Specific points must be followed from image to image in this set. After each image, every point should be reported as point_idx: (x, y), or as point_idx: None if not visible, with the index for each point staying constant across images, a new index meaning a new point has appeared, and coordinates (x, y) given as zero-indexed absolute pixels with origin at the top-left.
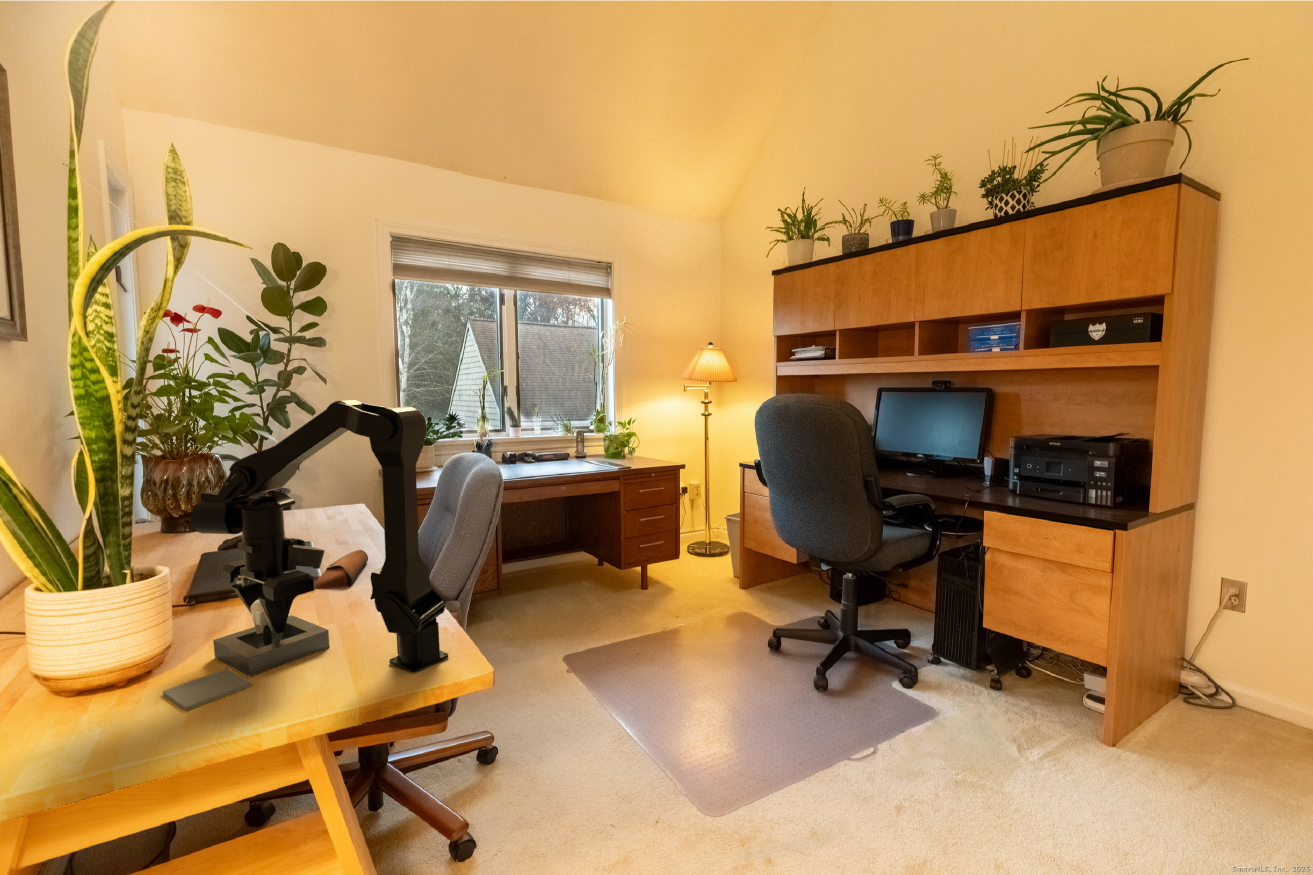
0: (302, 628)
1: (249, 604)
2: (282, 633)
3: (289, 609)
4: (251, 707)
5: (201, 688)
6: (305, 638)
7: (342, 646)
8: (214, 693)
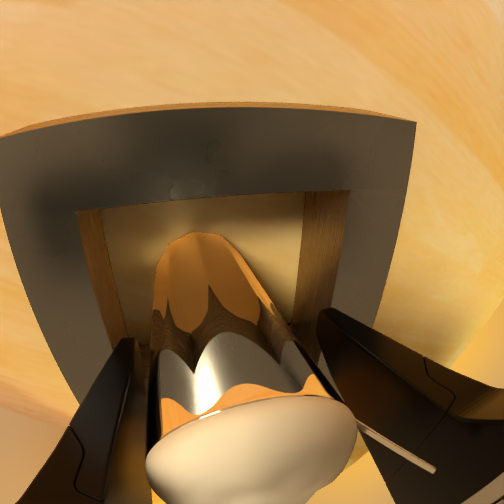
0: (285, 183)
1: (151, 501)
2: (243, 272)
3: (438, 366)
4: (427, 351)
5: None
6: (395, 227)
7: (394, 82)
8: (342, 399)
